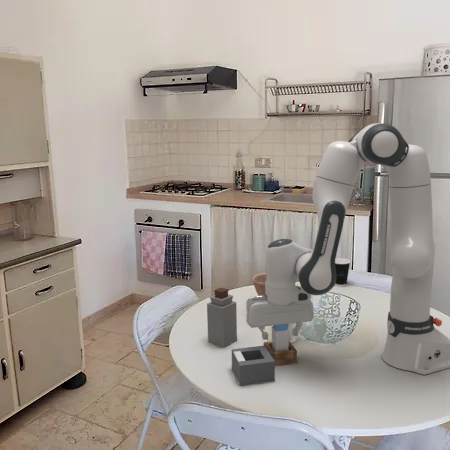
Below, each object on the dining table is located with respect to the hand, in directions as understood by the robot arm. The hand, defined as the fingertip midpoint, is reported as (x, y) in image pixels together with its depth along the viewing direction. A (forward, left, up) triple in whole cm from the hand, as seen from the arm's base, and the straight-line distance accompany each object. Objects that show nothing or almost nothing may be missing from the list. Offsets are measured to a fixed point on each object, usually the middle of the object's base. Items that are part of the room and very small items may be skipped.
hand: (280, 337), depth 149 cm
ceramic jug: (-7, -34, -7) cm, 36 cm away
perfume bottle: (+15, -16, -7) cm, 23 cm away
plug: (0, 0, -7) cm, 7 cm away
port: (+11, +7, -7) cm, 14 cm away
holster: (0, 0, -7) cm, 7 cm away
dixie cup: (-46, -57, -7) cm, 74 cm away
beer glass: (-6, -12, -7) cm, 15 cm away
